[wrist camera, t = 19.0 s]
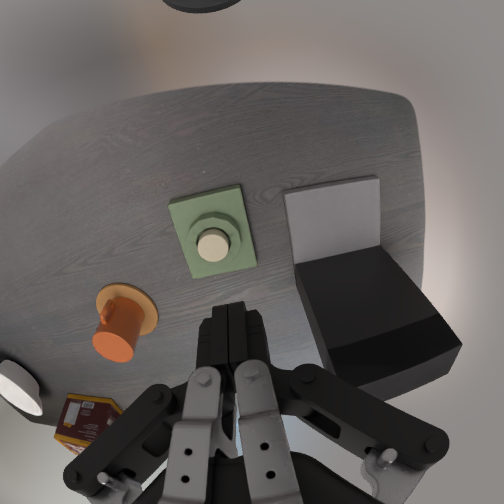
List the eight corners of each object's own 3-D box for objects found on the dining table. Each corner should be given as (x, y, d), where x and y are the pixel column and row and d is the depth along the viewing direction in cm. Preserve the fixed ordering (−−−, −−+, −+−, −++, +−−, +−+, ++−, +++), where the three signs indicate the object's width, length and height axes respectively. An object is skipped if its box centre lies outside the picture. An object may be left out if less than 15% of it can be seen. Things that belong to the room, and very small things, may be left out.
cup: (97, 292, 39) (79, 326, 32) (130, 286, 38) (114, 321, 31) (119, 328, 43) (106, 363, 36) (151, 324, 42) (140, 361, 35)
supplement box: (129, 417, 60) (120, 465, 46) (86, 412, 60) (74, 454, 46) (112, 398, 55) (99, 450, 41) (67, 392, 55) (52, 438, 41)
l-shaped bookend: (282, 190, 34) (347, 302, 15) (374, 175, 34) (494, 254, 14) (296, 286, 41) (338, 416, 22) (374, 267, 41) (448, 373, 22)
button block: (170, 200, 34) (164, 210, 30) (239, 183, 33) (240, 191, 30) (194, 272, 39) (191, 287, 36) (256, 259, 39) (258, 273, 35)
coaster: (86, 288, 39) (85, 290, 38) (142, 277, 39) (141, 279, 38) (115, 336, 44) (114, 338, 44) (168, 330, 44) (167, 332, 43)
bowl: (-15, 346, 47) (-26, 365, 39) (20, 350, 46) (7, 373, 39) (23, 391, 57) (15, 409, 50) (62, 399, 57) (55, 420, 49)
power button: (195, 231, 32) (193, 238, 31) (224, 225, 32) (224, 231, 31) (203, 257, 34) (202, 264, 33) (231, 251, 34) (231, 258, 33)
